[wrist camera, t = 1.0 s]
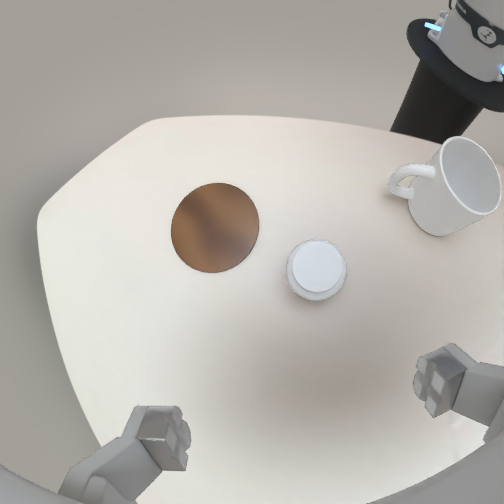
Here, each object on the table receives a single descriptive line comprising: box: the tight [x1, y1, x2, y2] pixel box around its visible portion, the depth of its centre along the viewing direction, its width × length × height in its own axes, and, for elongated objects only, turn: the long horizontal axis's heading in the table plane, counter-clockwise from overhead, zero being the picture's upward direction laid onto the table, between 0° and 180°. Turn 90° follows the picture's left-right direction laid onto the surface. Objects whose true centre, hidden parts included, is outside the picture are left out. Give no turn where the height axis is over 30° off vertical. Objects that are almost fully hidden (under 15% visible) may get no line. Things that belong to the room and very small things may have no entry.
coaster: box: [171, 183, 259, 273], centre depth 33 cm, size 11×11×1 cm
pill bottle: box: [286, 239, 347, 301], centre depth 25 cm, size 6×5×10 cm
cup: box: [388, 136, 502, 236], centre depth 24 cm, size 8×12×10 cm
